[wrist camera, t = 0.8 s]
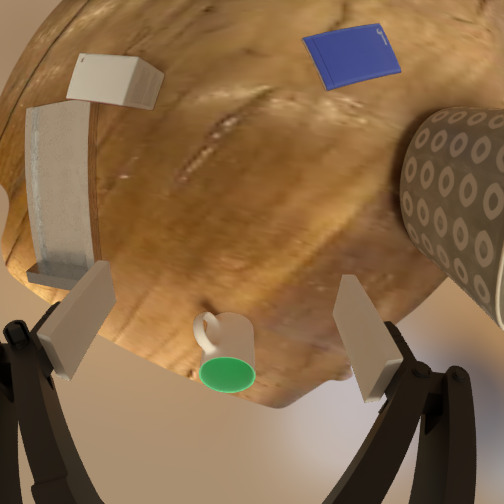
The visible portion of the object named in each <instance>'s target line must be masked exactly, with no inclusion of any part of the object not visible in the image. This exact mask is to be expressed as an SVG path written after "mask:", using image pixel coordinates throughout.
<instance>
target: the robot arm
mask: <svg viewBox="0 0 504 504" xmlns="http://www.w3.org/2000/svg"><path fill="white" fill-rule="evenodd" d="M115 303H116V297H115V292H114V287H113V282H112V276H111V271H110V265H109V261H100V260H98V261H97V262H96V263H95V264H94V265H93V266H92V267H91V268H90V269H89V270H88V271H87V273H86V274H85V275H84V276H83V277H82V278H81V279H80V280H79V282H78V283H77V284H76V285H75V286H74V287H73V288H72V290H71V291H70V292H69V293H68V294H67V295H66V297H65V298H64V299H63V300H62V301H61V302H59V301H58V302H57V303H55V304H54V305H52V306H51V307H50V308H49V309H48V310H47V311H46V314H44V315H43V316H42V319H40V320H39V321H38V323H37V324H36V325H35V326H34V328H33V329H32V330H31V332H29V330H28V328H27V326H26V323H25V322H24V321H23V320H14V321H12V322H10V323H8V324H7V325H6V326H5V328H4V330H3V334H4V336H5V338H6V340H7V342H8V343H7V344H6V343H4V344H3V343H1V342H0V504H23V503H22V496H21V488H20V478H19V465H18V422H19V426H20V431H21V435H22V440H23V444H24V448H25V452H26V455H27V459H28V462H29V466H30V469H31V472H32V475H33V478H34V482H35V483H34V485H32V486H31V492H32V495H33V498H34V501H35V503H36V504H104V502H103V501H102V500H101V499H100V497H99V495H98V494H97V492H96V490H95V488H94V486H93V484H92V482H91V480H90V478H89V477H88V474H87V472H86V470H85V468H84V466H83V463H82V461H81V459H80V457H79V454H78V452H77V450H76V447H75V445H74V442H73V440H72V437H71V434H70V432H69V429H68V426H67V424H66V421H65V418H64V415H63V412H62V409H61V405H60V402H59V399H58V396H57V392H56V388H55V385H54V381H53V378H52V376H51V372H52V371H53V369H54V370H55V372H56V374H57V376H58V377H59V378H62V379H66V380H69V381H71V379H72V377H73V375H74V373H75V372H76V370H77V368H78V366H79V364H80V362H81V361H82V359H83V357H84V355H85V353H86V352H87V350H88V348H89V346H90V344H91V343H92V341H93V339H94V338H95V336H96V334H97V332H98V331H99V329H100V327H101V326H102V324H103V322H104V321H105V319H106V317H107V316H108V314H109V312H110V311H111V309H112V308H113V306H114V304H115ZM332 315H333V317H334V320H335V322H336V325H337V328H338V330H339V333H340V336H341V338H342V341H343V344H344V346H345V349H346V352H347V354H348V357H349V360H350V363H351V365H352V368H353V371H354V374H355V377H356V379H357V382H358V385H359V388H360V391H361V394H362V397H363V400H364V403H366V402H373V401H379V400H380V398H381V397H382V396H383V394H384V392H385V395H386V397H387V400H386V402H385V403H384V405H383V406H382V408H381V409H380V411H379V415H378V417H377V419H376V421H375V423H374V425H373V426H372V428H371V430H370V432H369V433H368V435H367V437H366V439H365V440H364V442H363V444H362V446H361V447H360V449H359V450H358V452H357V454H356V455H355V457H354V459H353V460H352V462H351V463H350V465H349V466H348V468H347V469H346V471H345V472H344V474H343V475H342V477H341V478H340V480H339V481H338V483H337V484H336V485H335V487H334V488H333V490H332V491H331V492H330V494H329V495H328V496H327V498H326V499H325V500H324V502H323V503H322V504H381V502H382V501H383V499H384V497H385V495H386V494H387V492H388V490H389V488H390V486H391V484H392V482H393V480H394V478H395V476H396V474H397V472H398V470H399V468H400V466H401V463H402V461H403V459H404V457H405V454H406V452H407V450H408V448H409V445H410V443H411V440H412V438H413V435H414V433H415V430H416V427H417V425H418V422H419V419H420V416H421V423H420V435H419V444H418V453H417V461H416V467H415V473H414V480H413V485H412V490H411V495H410V500H409V504H474V499H475V486H476V428H475V416H474V405H473V396H472V389H471V382H470V377H469V374H468V373H467V372H466V370H464V369H463V368H462V367H459V366H451V367H449V369H448V370H447V371H446V373H437V372H432V370H431V368H430V367H429V366H428V365H427V364H425V363H423V362H420V361H417V360H416V359H415V357H414V355H413V353H412V352H411V350H410V348H409V346H408V345H407V343H406V342H405V340H404V338H403V336H401V333H400V331H399V330H398V328H397V327H396V326H395V325H394V324H393V323H391V322H390V321H386V322H383V321H382V319H381V317H380V315H379V314H378V312H377V310H376V309H375V307H374V305H373V304H372V302H371V300H370V299H369V297H368V295H367V294H366V292H365V290H364V289H363V287H362V286H361V284H360V282H359V281H358V279H357V277H356V276H355V275H343V274H342V279H341V283H340V287H339V291H338V295H337V299H336V302H335V306H334V310H333V314H332Z"/></svg>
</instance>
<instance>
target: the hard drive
mask: <svg viewBox="0 0 504 504" xmlns="http://www.w3.org/2000/svg"><path fill="white" fill-rule="evenodd" d="M302 42H303V44H304V46H305V48H306V50H307V52H308V54H309V56H310V58H311V60H312V62H313V64H314V66H315V68H316V70H317V73H318V75H319V77H320V79H321V81H322V84H323V86H324V88H325V91H329V90H332V89H336V88H339V87H343V86H346V85H350V84H354V83H358V82H362V81H366V80H370V79H374V78H378V77H382V76H387V75H392V74H396V73H401V68H400V66H399V63H398V61H397V58H396V56H395V54H394V52H393V49H392V47H391V45H390V43H389V41H388V39H387V36H386V35H385V32H384V30H383V28H382V26H381V25H380V24H379V23H378V24H370V25H363V26H357V27H351V28H345V29H340V30H335V31H330V32H325V33H321V34H317V35H313V36H309V37H305V38H302Z"/></svg>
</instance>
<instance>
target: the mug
mask: <svg viewBox="0 0 504 504" xmlns="http://www.w3.org/2000/svg"><path fill="white" fill-rule="evenodd" d="M203 319H204V320H205V321H206V322H207V323H208V324H207V327H206V333H205V331H204V327H203ZM193 331H194V335H195V338H196V340H197V342H198V344H199V345H200V346H201V347H202V349H203V351H202V357H201V363H200V369H199V377H200V379H201V381H202V382H203V383H204V384H205V385H206V386H207V387H209V388H211V389H213V390H216V391H219V392H225V393H234V392H239V391H242V390H245V389H247V388H248V387H250V386H251V385H252V384H253V382H254V380H255V353H254V329H253V325H252V323H251V322H250V321H249V320H248V319H247V318H246V317H245V316H243V315H241V314H238V313H233V312H224V313H220V314H217V315H215V316H214V315H213V314H212V313H210V312H207V311H206V312H202V313H200V314H198V315H197V316H196V317H195V319H194V323H193Z"/></svg>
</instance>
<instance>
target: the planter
mask: <svg viewBox="0 0 504 504" xmlns="http://www.w3.org/2000/svg"><path fill="white" fill-rule="evenodd" d="M400 205H401V212H402V217H403V221H404V225H405V227H406V230H407V232H408V234H409V237H410V238H411V240H412V242H413V243H414V245H415V246H416V247H417V249H418V250H419V251H420V252H421V253H422V254H424V255H425V256H426V257H427V258H428V259H429V260H431V261H432V262H433V263H434V264H435V265H436V266H437V267H439V268H440V269H441V270H442V271H443V272H444V273H445V274H446V275H447V276H449V277H450V278H451V279H452V280H453V281H454V282H455V283H456V284H457V285H458V286H459V287H460V288H461V289H463V290H464V291H465V292H466V293H467V294H468V295H469V296H470V297H471V298H472V299H473V300H474V301H475V302H476V303H477V304H478V305H479V306H480V307H481V308H482V309H483V310H484V311H485V312H486V313H487V314H488V315H489V316H490V317H491V319H492V320H494V322H495V323H496V324H497V325H498V326H499V327H500V328H501V329H502V330H503V331H504V109H499V108H484V107H448V108H444V109H441V110H439V111H437V112H435V113H434V114H432V115H431V116H430V117H429V118H427V119H426V120H425V121H424V122H423V123H422V125H421V126H420V127H419V128H418V130H417V131H416V133H415V135H414V136H413V138H412V140H411V142H410V144H409V147H408V149H407V152H406V155H405V158H404V162H403V166H402V171H401V179H400Z"/></svg>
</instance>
